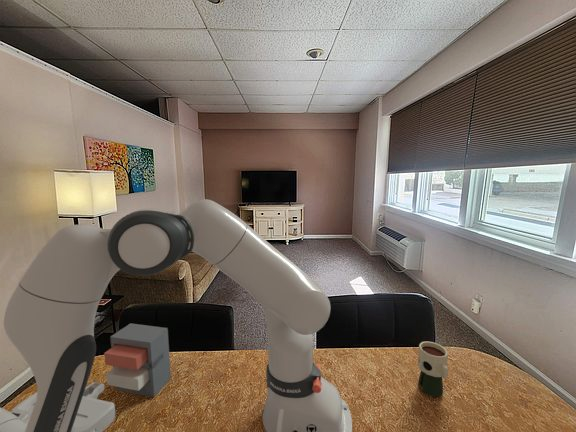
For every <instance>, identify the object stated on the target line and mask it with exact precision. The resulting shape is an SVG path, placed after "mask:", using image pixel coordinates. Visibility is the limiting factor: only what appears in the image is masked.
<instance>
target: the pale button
mask: <svg viewBox="0 0 576 432" xmlns="http://www.w3.org/2000/svg"><path fill="white" fill-rule="evenodd" d="M105 376H106V384H107V386H112V387H115V386H116V387H121V388H126V389H132V390H137V391H139V390H140V389H141V388H142V387H143V386H144V385H145V384H146V383H147V382H148V381H149V380H150V377H149V368H143V367H140V368H139V369H138V370H133V369H127V368H121V367H116V366H115V367H114V368H113V367H112V368H111V369H110V370H109V371H107V372H106V373H105Z"/></svg>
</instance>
